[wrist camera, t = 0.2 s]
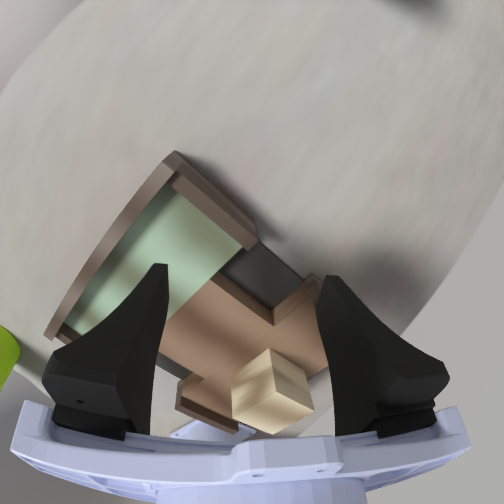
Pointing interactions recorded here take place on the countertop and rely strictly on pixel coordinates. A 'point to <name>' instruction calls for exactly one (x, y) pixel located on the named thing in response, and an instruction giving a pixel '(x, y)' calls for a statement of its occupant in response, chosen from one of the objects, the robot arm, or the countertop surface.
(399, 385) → the robot arm
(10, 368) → the soap dispenser
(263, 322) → the track
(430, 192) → the countertop surface
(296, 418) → the maple block
